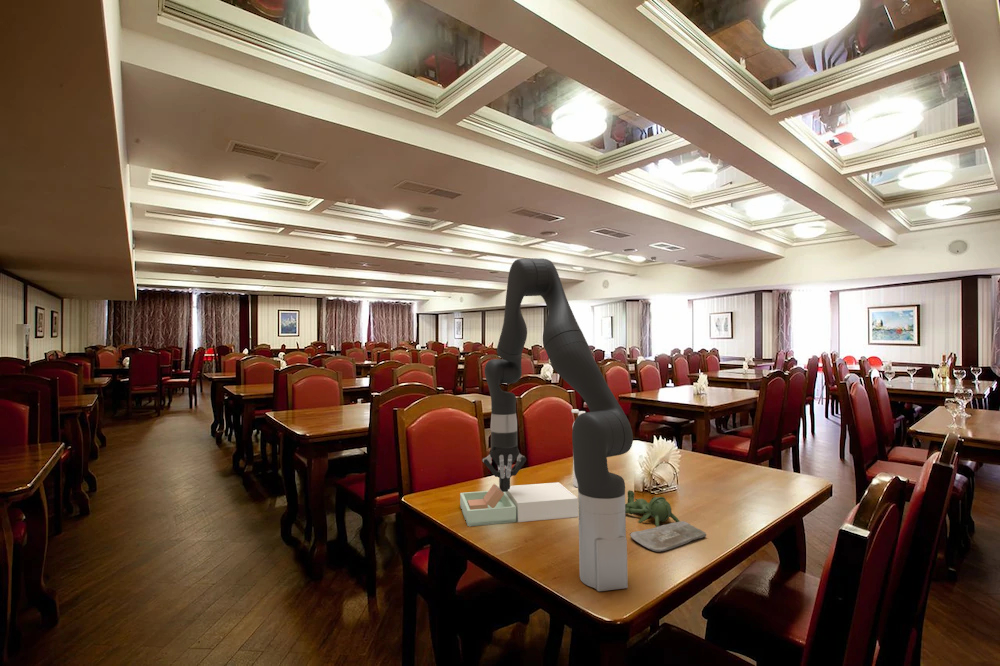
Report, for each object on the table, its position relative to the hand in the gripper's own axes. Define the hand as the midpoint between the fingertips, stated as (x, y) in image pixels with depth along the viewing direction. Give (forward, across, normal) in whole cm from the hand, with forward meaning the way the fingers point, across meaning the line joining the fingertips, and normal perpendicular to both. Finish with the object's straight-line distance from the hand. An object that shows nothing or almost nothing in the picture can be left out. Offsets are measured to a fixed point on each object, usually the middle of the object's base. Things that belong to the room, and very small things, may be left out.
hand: (504, 490), depth 133 cm
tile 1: (+3, -8, 0) cm, 8 cm away
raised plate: (+6, +10, 0) cm, 12 cm away
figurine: (+7, +37, -12) cm, 39 cm away
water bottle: (+6, +31, +20) cm, 37 cm away
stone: (+7, +34, -27) cm, 44 cm away
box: (+6, -5, 0) cm, 8 cm away
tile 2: (+2, -2, 0) cm, 3 cm away
